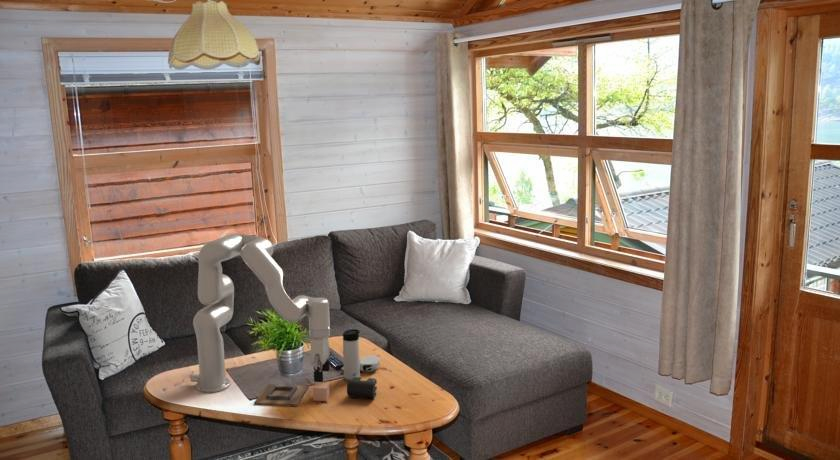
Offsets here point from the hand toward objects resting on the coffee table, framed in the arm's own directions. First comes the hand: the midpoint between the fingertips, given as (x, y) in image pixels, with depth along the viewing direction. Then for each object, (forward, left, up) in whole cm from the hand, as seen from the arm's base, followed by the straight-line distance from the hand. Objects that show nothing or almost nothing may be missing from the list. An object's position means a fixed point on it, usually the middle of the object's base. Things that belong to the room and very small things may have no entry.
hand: (321, 376), depth 253 cm
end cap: (+15, +2, -9) cm, 17 cm away
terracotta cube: (0, 0, -9) cm, 9 cm away
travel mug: (+8, +18, -9) cm, 21 cm away
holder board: (-15, 0, -9) cm, 18 cm away
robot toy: (+9, +28, -9) cm, 31 cm away
